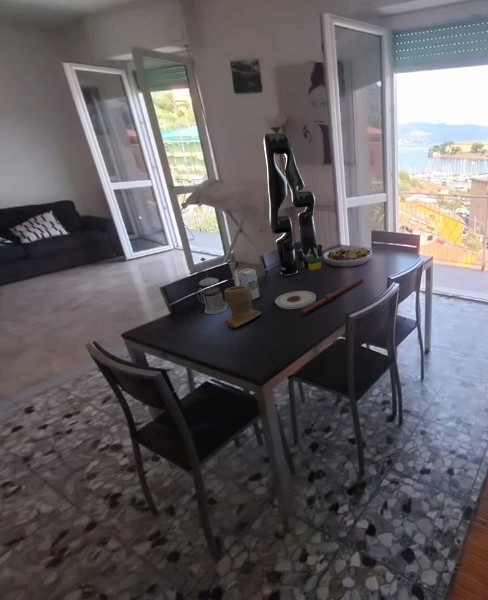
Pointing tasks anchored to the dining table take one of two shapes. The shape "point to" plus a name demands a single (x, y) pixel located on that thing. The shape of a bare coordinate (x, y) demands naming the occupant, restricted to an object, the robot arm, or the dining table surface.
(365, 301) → the dining table surface
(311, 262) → the sponge
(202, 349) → the dining table surface
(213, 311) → the french press
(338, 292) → the rolling pin
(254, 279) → the white canister
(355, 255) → the bowl
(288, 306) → the plate
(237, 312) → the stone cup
